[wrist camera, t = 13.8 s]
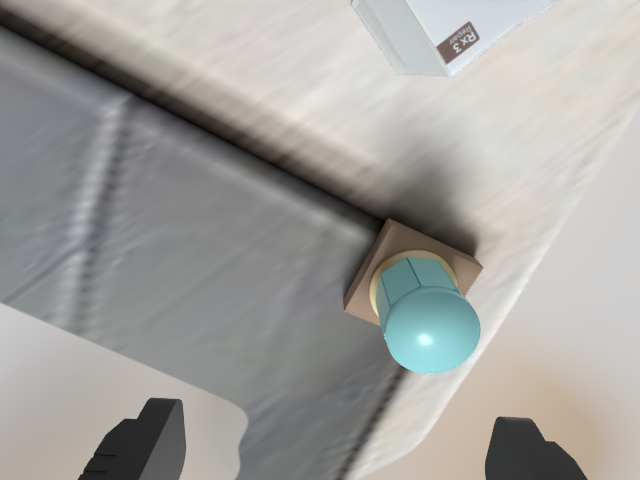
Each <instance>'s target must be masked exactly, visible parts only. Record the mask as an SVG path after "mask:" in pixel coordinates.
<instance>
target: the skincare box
mask: <svg viewBox="0 0 640 480" xmlns="http://www.w3.org/2000/svg"><path fill="white" fill-rule="evenodd" d="M556 1H557V0H352V3H351V6H352V8H353V9H354V11H355V12H356V14H357V15H358V17H359V18H360V20H361V21H362V23H363V24H364V26H365V27H366V29H367V30H368V32H369V33H370V35H371V36H372V38H373V39H374V41H375V42H376V44H377V45H378V47H379V48H380V50H381V51H382V53H383V54H384V56H385V57H386V59H387V60H388V62H389V63H390V65H391V66H392V68H393V69H394V71H395V72H396V74H397V75H417V76H435V77H454V76H455V75H456V74H458V73H459V72H460V71H461V70H463V69H464V68H465V67H466V66H468V65H469V64H470V63H472V62H473V61H474V60H475V59H477V58H478V57H479V56H480V55H482V54H483V53H484V52H485V51H487V50H488V49H489V48H490V47H492V46H493V45H494V44H496V43H497V42H498V41H499V40H501V39H502V38H503V37H505V36H506V35H507V34H509V33H510V32H511V31H513V30H514V29H515V28H517V27H518V26H519V25H520V24H522V23H523V22H525V21H527V20H529V19H532V18H534V17H536V16H538V15H540V14H541V13H543V12H544V11H545V10H547V9H548V8H549V7H551V6H552V5H553V4H554V3H555V2H556Z"/></svg>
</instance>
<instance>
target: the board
mask: <svg viewBox="0 0 640 480" xmlns="http://www.w3.org/2000/svg"><path fill="white" fill-rule="evenodd" d="M407 256H408V257H416V258H424V259H433V260H437V261H439V263H440V264H441V265H442V267H443V268H444V269H445V271H446V272H447V273H448V275H449V276H450V278H451V279H452V280H453V282H454V283H455V284H456V286H457V287H458V289H459V290H460V292H461V293H462V295H463V296H465V295H466V293H467V292H468V290H469V289H470V287H471V286H472V284H473V282H474V281H475V279H476V278H477V276H478V275H479V273H480V272H481V270H482V269H483V267H482V266H481V264H480V263H479V262H478V261H477V260H476V259H475V258H474V257H472V256H469V255H467V254H465V253H463V252H461V251H459V250H457V249H454V248H452V247H450V246H448V245H446V244H444V243H441V242H439V241H437V240H435V239H433V238H431V237H429V236H426V235H424V234H422V233H420V232H418V231H416V230H413V229H411V228H409V227H407V226H405V225H403V224H401V223H398V222H396V221H394V220H392V219H390V218H387V220H386V222H385V224H384V226H383V228H382V229H381V231H380V233H379V235H378V237H377V239H376V240H375V242H374V244H373V246H372V248H371V250H370V251H369V253H368V255H367V257H366V259H365V261H364V262H363V264H362V266H361V268H360V270H359V272H358V273H357V275H356V277H355V279H354V281H353V283H352V284H351V286H350V288H349V290H348V292H347V294H346V295H345V297H344V299H343V302H344V311H345V312H348V313H350V314H352V315H355V316H357V317H359V318H362V319H364V320H366V321H369V322H371V323H374V324H376V325H378V326H381V324H380V319H379V315H378V311H377V307H376V303H375V299H376V293H377V288H378V283H379V277H380V275H381V273H383V272H384V271H386V270H387V269H388V268H390V267H391V266H393V265H394V264H396V263H397V262H399V261H400V260H402V259H403V258H405V257H406V258H407Z"/></svg>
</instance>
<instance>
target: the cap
mask: <svg viewBox="0 0 640 480" xmlns="http://www.w3.org/2000/svg"><path fill="white" fill-rule="evenodd" d="M375 303H376V307H377V311H378V315H379V319H380V324H381V328H382V332H383V336H384V339H385V340H386V341H387V345H388V348H389V351H390V353H391V354H392V356H393V357H394V359H395V360H396V361H397V362H398V363H399V364H401V365H402V366H403V367H405V368H407V369H409V370H411V371H414V372H418V373H424V374H435V373H441V372H445V371H448V370H451V369H453V368H455V367H457V366H459V365H460V364H462V363H463V362H464V361H465V360H467V359H468V358H469V356H470V355H471V354H472V353H473V351H474V350H475V348H476V346H477V344H478V341H479V337H480V322H479V319H478V316H477V314H476V312H475V311H474V309H473V308H472V306H471V305H470V303H469V302H468V301H467V300H466V298H465V297H464V296H463V295H462V293H461V292H460V290H459V289H458V287H457V286H456V284H455V283H454V282H453V280H452V279H451V278H450V276H449V275H448V273H447V272H446V271H445V269H444V268H443V267H442V265H441V264H440V263H439V261H437V260H433V259H424V258H416V257H408V256H407V258H406V257H405V258H403V259H402V260H400V261H399V262H397V263H396V264H394V265H393V266H391V267H390V268H388V269H387V270H386V271H384V272H383V273H381V275H380V277H379V283H378V288H377V293H376V299H375Z"/></svg>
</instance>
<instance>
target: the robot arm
mask: <svg viewBox="0 0 640 480" xmlns="http://www.w3.org/2000/svg"><path fill="white" fill-rule="evenodd" d="M185 453H186V440H185V428H184V415H183V404H182V401H181V400H180V399H166V398H165V399H164V398H150V399H149V400H148V401H147V402H146V404H145V406H144V408H143V409H142V411H141V413H140V415H139V416H138V418H137V419H124V420H123V421H121V422H120V423H119V424H118V425H117V426H116V427H114V428H113V429H112V430H111V431H110V432H109V433H107V434H106V435H105V437H104V439H103V441H102V442H101V443H100V445H99V447H98V448H97V450H96V451H95V453H94V456H93V458H91V459H90V461H89V462H88V464H87V466H86V467H85V469H84V472H83V474H81V475H80V477H79V478H78V480H179V477H180V475H181V472H182V468H183V465H184V459H185ZM485 475H486V480H587V478H586V476H585V475H584V473H583V472H582V470H581V469H580V468H579V466H578V465H577V463H576V461H575V460H574V459H573V458H572V457H571V456H570V455H569V454H567V453H566V452H565V451H564V450H563V449H562V448H561V447H560V446H559V445H558V444H556V443H555V442H549V441H545V439H544V438H543V436H542V434H541V433H540V431H539V429H538V428H537V426H536V424H535V423H534V422H533V421H532V420H531V419H530V418H517V417H498V418H497V419H496V421H495V424H494V428H493V432H492V437H491V441H490V445H489V449H488V453H487V457H486V461H485Z"/></svg>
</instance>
